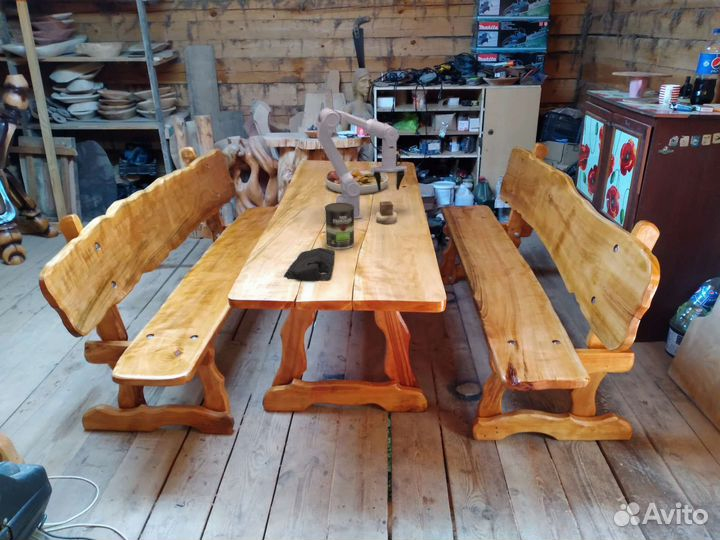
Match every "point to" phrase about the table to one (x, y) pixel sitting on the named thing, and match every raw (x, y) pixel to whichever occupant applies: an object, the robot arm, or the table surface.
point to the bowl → (361, 177)
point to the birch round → (386, 218)
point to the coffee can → (339, 225)
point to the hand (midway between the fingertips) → (388, 189)
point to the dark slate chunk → (312, 265)
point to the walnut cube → (386, 208)
